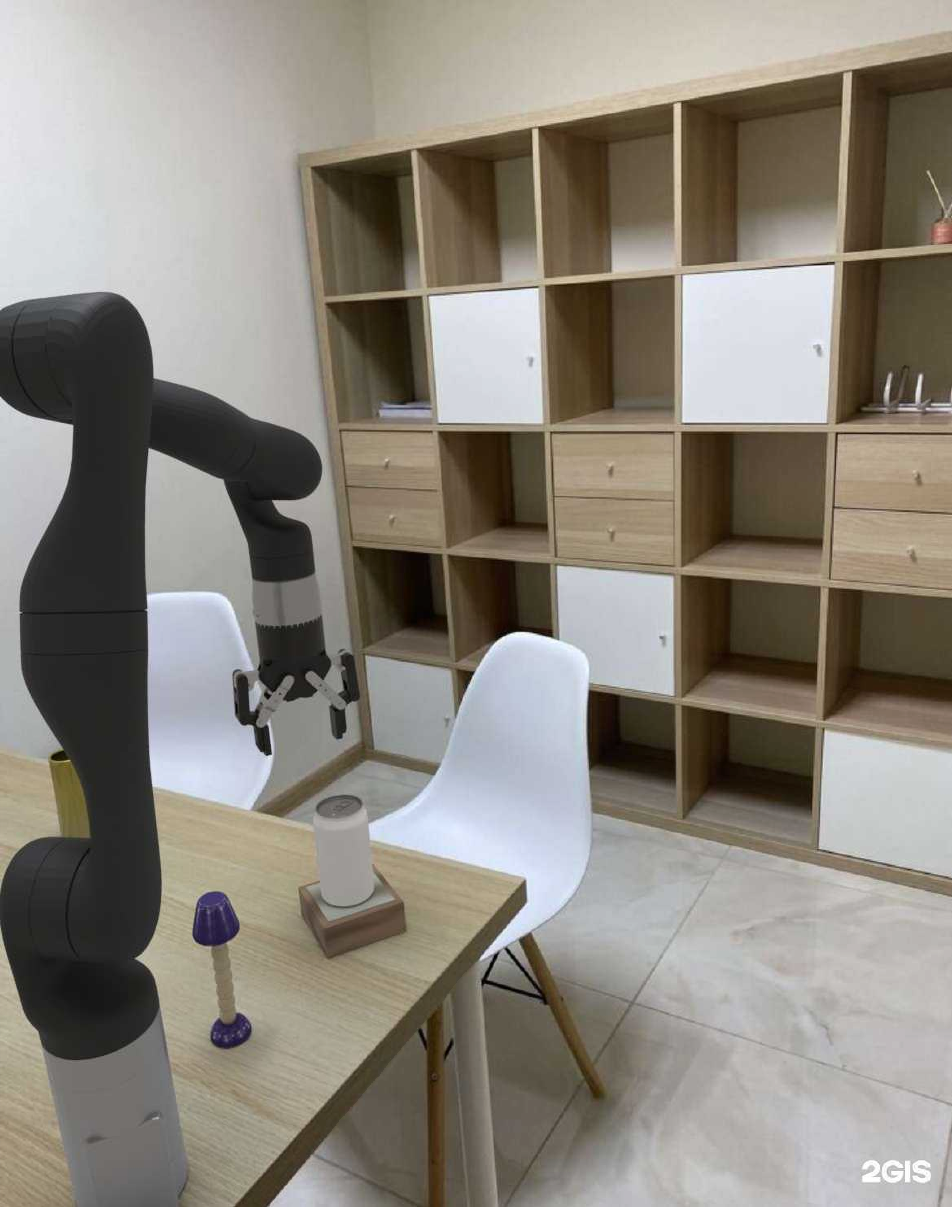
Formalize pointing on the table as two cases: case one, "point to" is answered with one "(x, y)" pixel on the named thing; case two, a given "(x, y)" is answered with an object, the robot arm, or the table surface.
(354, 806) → the can
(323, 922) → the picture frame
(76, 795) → the vase
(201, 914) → the toy lamp
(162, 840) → the table surface
